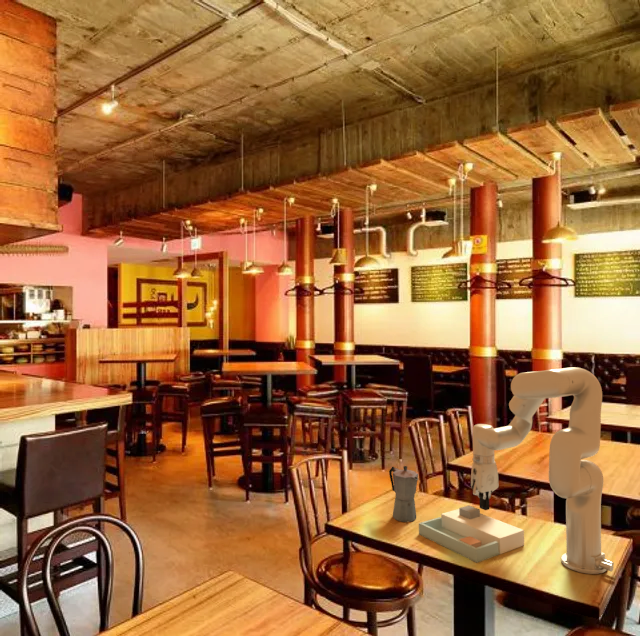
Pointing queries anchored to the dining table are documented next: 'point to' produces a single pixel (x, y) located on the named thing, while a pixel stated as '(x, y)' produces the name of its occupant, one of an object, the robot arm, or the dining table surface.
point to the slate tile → (469, 512)
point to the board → (484, 530)
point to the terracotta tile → (471, 541)
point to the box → (456, 541)
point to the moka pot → (404, 493)
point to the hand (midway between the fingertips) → (484, 508)
